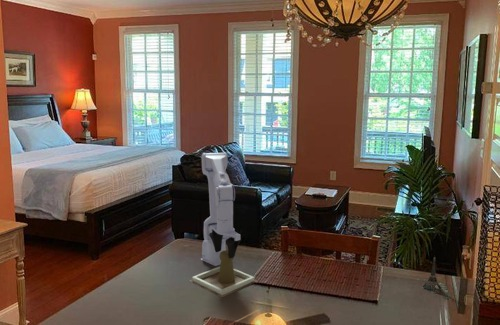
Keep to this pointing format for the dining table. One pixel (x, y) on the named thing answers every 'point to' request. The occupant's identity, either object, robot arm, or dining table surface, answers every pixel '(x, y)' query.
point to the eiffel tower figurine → (435, 284)
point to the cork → (226, 269)
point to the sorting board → (214, 281)
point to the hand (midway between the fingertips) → (224, 254)
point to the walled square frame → (223, 291)
